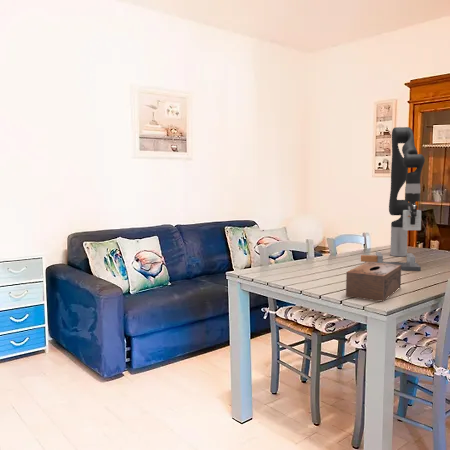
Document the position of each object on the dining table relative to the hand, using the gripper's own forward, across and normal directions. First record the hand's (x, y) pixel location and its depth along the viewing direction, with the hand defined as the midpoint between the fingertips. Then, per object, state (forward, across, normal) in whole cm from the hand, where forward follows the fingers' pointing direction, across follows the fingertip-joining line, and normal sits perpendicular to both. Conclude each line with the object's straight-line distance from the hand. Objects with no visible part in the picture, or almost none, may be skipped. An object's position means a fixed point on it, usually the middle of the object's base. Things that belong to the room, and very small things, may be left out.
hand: (411, 223), depth 242 cm
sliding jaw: (+20, +11, -21) cm, 31 cm away
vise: (+22, +11, -11) cm, 27 cm away
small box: (+3, 0, 0) cm, 3 cm away
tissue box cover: (+23, +65, -24) cm, 73 cm away
